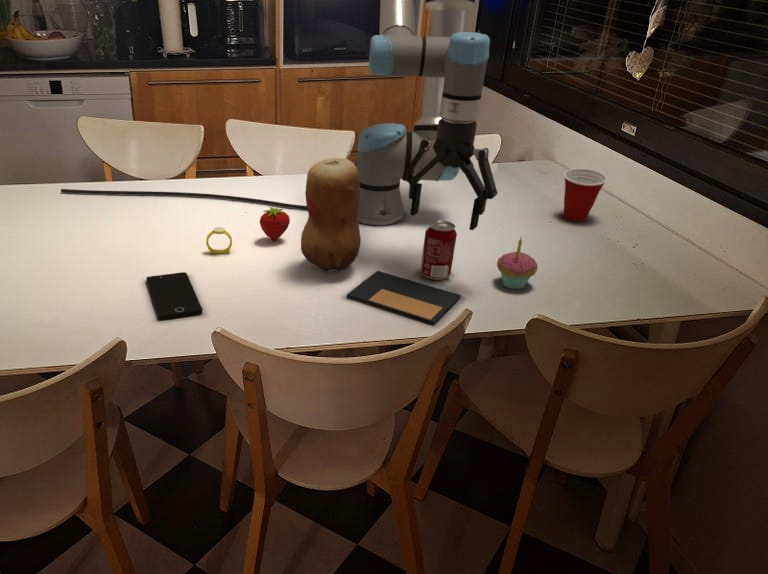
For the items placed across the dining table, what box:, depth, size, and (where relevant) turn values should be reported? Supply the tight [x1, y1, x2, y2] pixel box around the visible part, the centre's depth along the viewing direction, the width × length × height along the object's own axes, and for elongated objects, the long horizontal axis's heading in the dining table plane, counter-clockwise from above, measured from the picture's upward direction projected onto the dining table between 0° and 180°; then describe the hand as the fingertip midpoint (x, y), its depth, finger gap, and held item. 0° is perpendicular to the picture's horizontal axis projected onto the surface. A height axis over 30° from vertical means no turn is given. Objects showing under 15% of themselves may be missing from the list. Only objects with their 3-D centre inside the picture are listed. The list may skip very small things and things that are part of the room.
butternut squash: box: [300, 157, 362, 272], centre depth 149 cm, size 14×13×25 cm
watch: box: [205, 226, 233, 254], centre depth 161 cm, size 6×3×6 cm, turn 96°
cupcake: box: [496, 236, 539, 290], centre depth 148 cm, size 9×8×12 cm
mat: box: [346, 270, 462, 326], centre depth 145 cm, size 20×14×1 cm
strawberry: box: [259, 204, 291, 242], centre depth 166 cm, size 6×8×10 cm
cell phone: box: [146, 271, 203, 320], centre depth 144 cm, size 9×18×1 cm, turn 18°
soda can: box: [419, 219, 458, 281], centre depth 151 cm, size 7×7×12 cm
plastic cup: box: [563, 167, 609, 223], centre depth 181 cm, size 11×11×12 cm
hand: (443, 221), depth 147 cm, fingers open, 13 cm apart
